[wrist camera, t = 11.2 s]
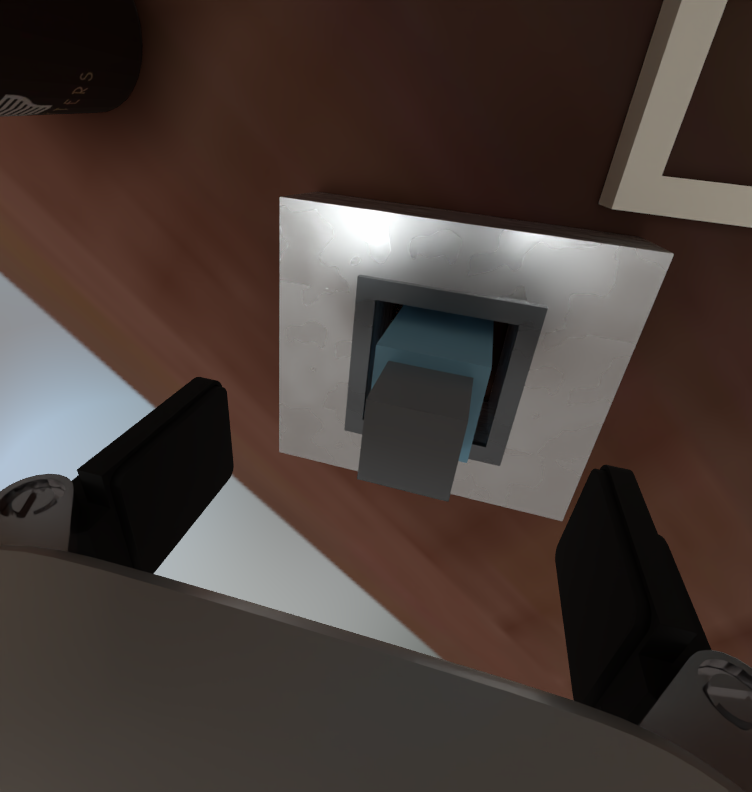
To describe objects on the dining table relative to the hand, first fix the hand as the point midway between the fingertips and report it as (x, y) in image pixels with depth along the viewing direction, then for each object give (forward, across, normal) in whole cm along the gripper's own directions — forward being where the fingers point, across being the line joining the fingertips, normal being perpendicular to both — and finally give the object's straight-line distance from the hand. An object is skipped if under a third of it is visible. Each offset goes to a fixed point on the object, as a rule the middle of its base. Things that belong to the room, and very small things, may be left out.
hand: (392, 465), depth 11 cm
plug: (+12, 0, +1) cm, 12 cm away
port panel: (+12, 0, +2) cm, 12 cm away
